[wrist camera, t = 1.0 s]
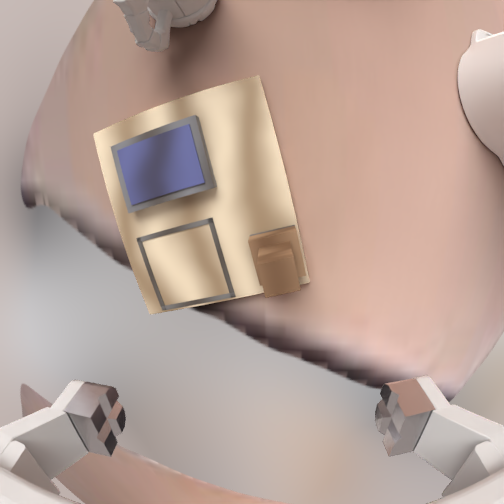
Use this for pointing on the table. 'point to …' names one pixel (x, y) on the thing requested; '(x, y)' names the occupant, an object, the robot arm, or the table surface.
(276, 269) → the stamp
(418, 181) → the table surface
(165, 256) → the board
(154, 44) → the mug
